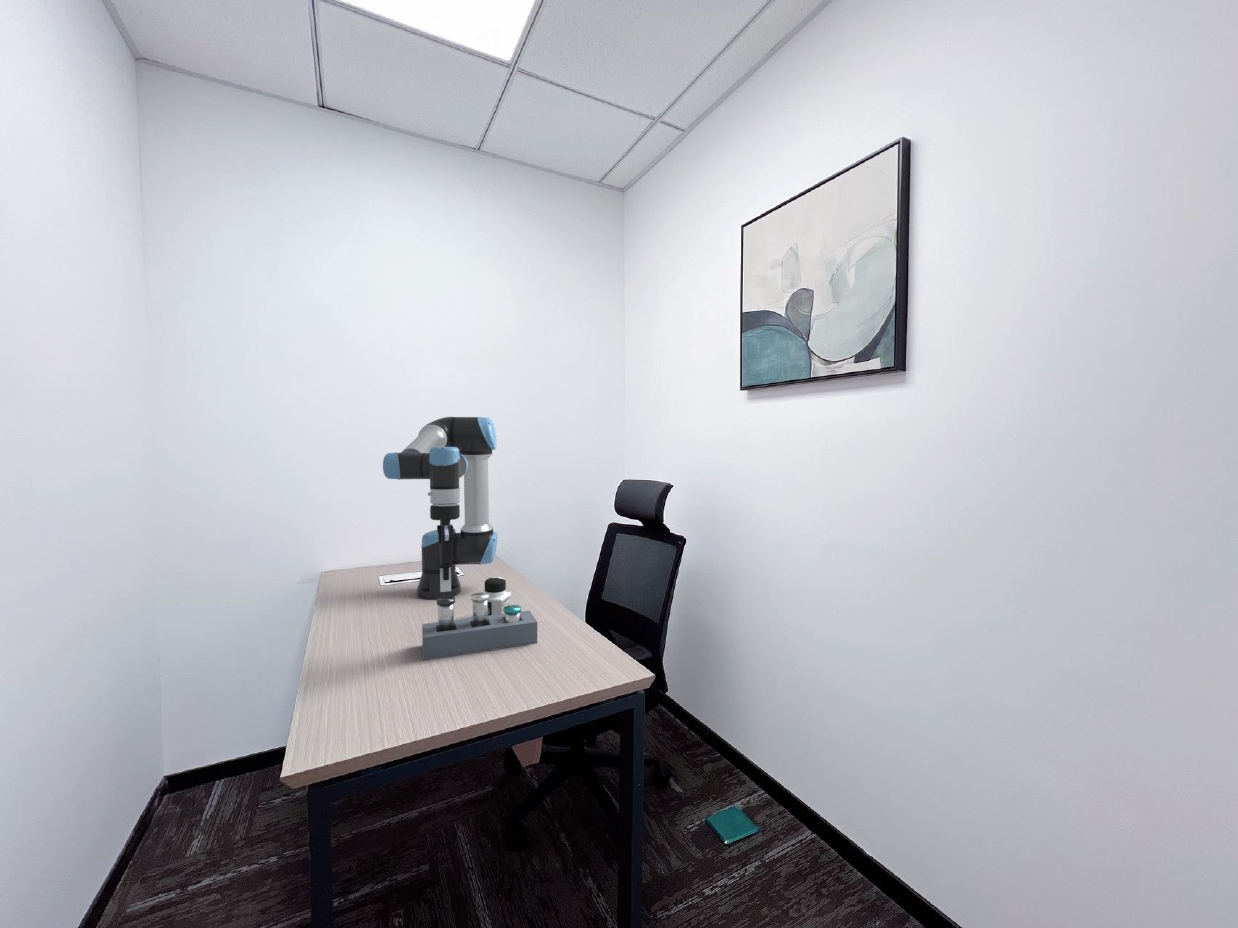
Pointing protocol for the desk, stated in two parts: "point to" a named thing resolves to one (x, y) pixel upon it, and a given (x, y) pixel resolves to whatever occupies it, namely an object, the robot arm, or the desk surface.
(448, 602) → the knob black
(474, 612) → the knob ivory
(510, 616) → the knob teal
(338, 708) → the desk surface
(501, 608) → the container
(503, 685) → the desk surface
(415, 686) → the desk surface
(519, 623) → the mount
